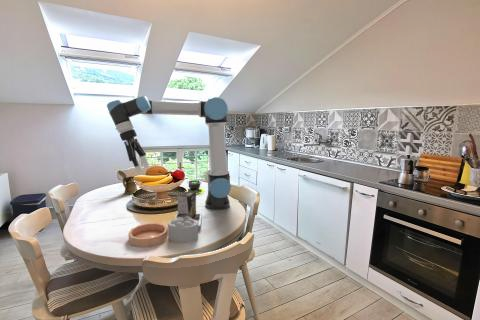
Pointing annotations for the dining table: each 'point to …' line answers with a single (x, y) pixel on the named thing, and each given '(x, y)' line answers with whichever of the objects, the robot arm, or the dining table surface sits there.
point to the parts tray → (198, 215)
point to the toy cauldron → (195, 186)
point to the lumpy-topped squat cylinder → (183, 229)
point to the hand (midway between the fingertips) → (143, 169)
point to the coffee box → (187, 204)
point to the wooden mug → (128, 183)
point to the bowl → (148, 234)
